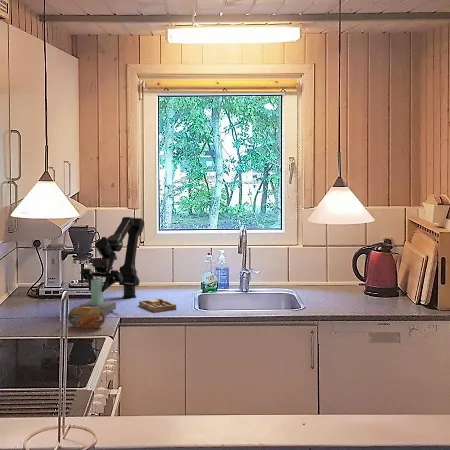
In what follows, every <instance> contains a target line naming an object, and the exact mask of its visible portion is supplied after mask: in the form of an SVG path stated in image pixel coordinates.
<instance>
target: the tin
mask: <svg viewBox="0 0 450 450" xmlns="http://www.w3.org/2000/svg"><path fill="white" fill-rule="evenodd" d="M68 321H69V324H70V325H71V326H73V327H74V328H77V327H82V328H81V329H98V328H100V327H101V326H103V325H104V324H105V322H106V316H105V313H104V311H103V310H102V309H100V308H98V307H79V306H77V307H74V308H72V309H71V310H70V311H69V313H68Z"/></svg>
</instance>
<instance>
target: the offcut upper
mask: <svg viewBox="0 0 450 450" xmlns="http://www.w3.org/2000/svg"><path fill="white" fill-rule="evenodd" d="M148 300H149V301H148V303H149V304H152V305H153V304H160V301H159V300H154V299H148Z"/></svg>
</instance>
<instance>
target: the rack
mask: <svg viewBox="0 0 450 450" xmlns="http://www.w3.org/2000/svg"><path fill="white" fill-rule="evenodd" d="M149 300H150V299H147V300H140V301H139V302H138V304H139V305H138V306H139V307H141V308H143V309H146V310H148V311H151V312H152V313H160V312H165V311H167V312H168V311H174V310H177V304H176V303H173V302H170V301H168V300H164V299H163V298H156V299H153V300H159V301H160V306H157V305H155V304H153V306H151V305H149V304H148V301H149Z"/></svg>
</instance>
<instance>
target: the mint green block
mask: <svg viewBox="0 0 450 450" xmlns="http://www.w3.org/2000/svg"><path fill="white" fill-rule="evenodd" d="M103 284H104V278H102V277H94V279H93V280H91V291H90V295H91V296H90V299H91V300H90V301H91V305H100V304H102V303H103V301H104V292H102V291H101V290H102V287H103Z"/></svg>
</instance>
